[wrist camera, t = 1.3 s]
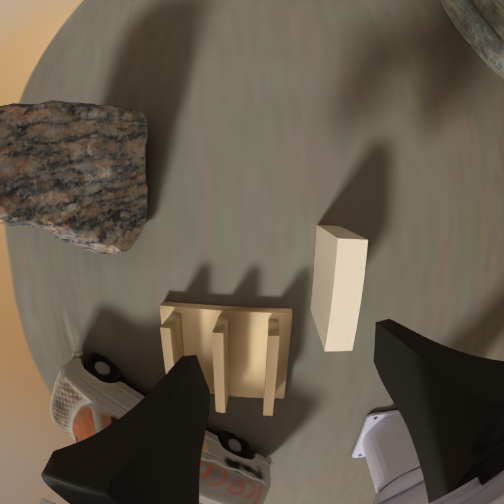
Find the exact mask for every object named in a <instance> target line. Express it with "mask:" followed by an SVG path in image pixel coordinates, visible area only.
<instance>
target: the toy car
mask: <svg viewBox="0 0 504 504" xmlns="http://www.w3.org/2000/svg"><path fill="white" fill-rule="evenodd" d="M82 357H83V352H82V351H77V352H75V353H73V354H72V357H71V360H70V362H68V363H67V364H65V365H64V366H63V367H62V368H61V369H60V371H59V373H58V376H57V379H56V381H55V385H54V388H53V392H52V398H51V406H50V414H51V416H52V419H53V421H54V422H55V423H56V424H58V425H59V426H60V427H61V428H62V429H63V430H65V431H66V432H67V433H68V434H69V435H70V436H71V437H72V438H73V439H75V440H76V442H80V441H82V440H84V439H86V438H88V437H90V436H92V435H94V434H96V433H98V432H99V431H101V430H103V429H104V428H106V427H107V426H109V425H110V424H112V423H113V422H115V421H117V420H118V419H119V418H121V417H122V416H123V415H125V414H126V413H127V412H128V411H130V410H131V409H132V408H133V407H134V406H136V405H137V404H138V403H139V402H140V401H141V400H142V399H143V398H144V397H145V396H143V395H141V394H140V393H138V392H137V391H135V390H134V389H132V388H130V387H129V386H127V385H126V384H124V383H123V382H120V381H119V382H117V381H118V379H119V376H120V371H119V368H118V367H117V366H116V365H115V364H114V363H112V362H111V361H110V360H109V359H108V358H106V357H105V356H103V355H100V354H98V353H92V354H90V355H89V356H87V358H86V359H85V361H84V367H83V366H82V364H81V360H82ZM249 453H250V446H249V444H248V442H246V441H245V440H243V439H241V438H238V437H236V436H235V435H234V434H232V433H229V432H227V431H222V432H221V433H219V434H218V437H217V435H215V434H213V433H210V432H208V431H207V430H206V432H205V437H204V443H203V448H202V454H201V461H200V479H199V504H263V503H264V500H265V498H266V496H267V493H268V490H269V488H270V481H271V477H270V466H271V465H272V464H273V462H272V460H271V458H270V457H267V459H268V461H267V459H266V458H265V457H263V456H261V455H259V454H257V453H255V454H254V455H253V456H251V457H250V458H248V456H249Z"/></svg>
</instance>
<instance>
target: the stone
mask: <svg viewBox="0 0 504 504" xmlns="http://www.w3.org/2000/svg"><path fill="white" fill-rule="evenodd" d="M147 138H148V121H147V119H146V117H145V115H144V114H143V113H141V112H139V111H135V110H132V109H122V108H120V107H116V106H104V105H95V104H86V103H70V102H63V101H48V102H44V103H41V104H14V103H13V104H9V105H4V106H0V224H4V225H7V226H15V225H27V226H32V227H36V228H42V229H46V228H47V229H48V230H49V232H50V233H51V234H52V235H53V236H54V237H55V238H58V239H59V240H61V241H62V242H64V243H68V242H69V243H72V244H75V245H78V246H79V247H80V248H82V249H83V250H87V251H93V252H96V253H99V254H123V253H125V252H126V251H127V250H129V249H130V248H131V246H132V245H133V244H134V242H135V241H136V239H137V238H138V236H139V235H140V233H141V232H142V230H143V227H144V225H145V223H146V215H147V212H148V203H147V191H148V187H147V185H146V173H145V169H146V155H145V146H146V142H147Z"/></svg>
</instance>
